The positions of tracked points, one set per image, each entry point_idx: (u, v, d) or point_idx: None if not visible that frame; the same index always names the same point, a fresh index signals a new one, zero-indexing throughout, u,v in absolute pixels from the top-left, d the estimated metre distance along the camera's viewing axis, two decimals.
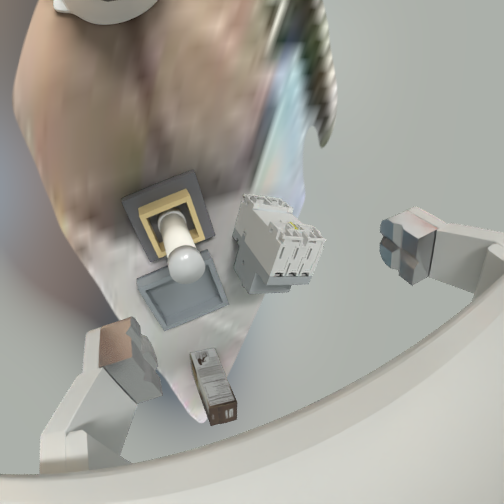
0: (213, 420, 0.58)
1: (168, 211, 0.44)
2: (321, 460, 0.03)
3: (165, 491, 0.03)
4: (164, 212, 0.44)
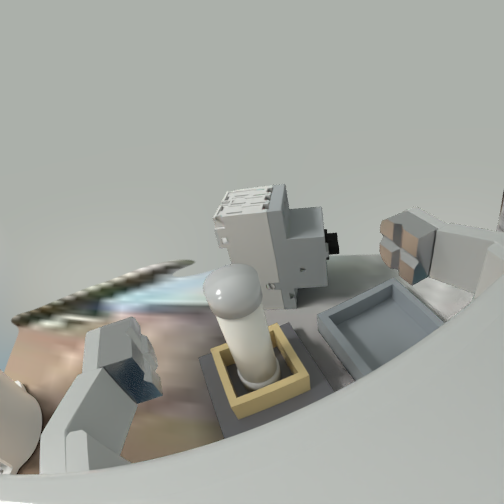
0: None
1: None
2: (321, 460, 0.03)
3: (164, 491, 0.03)
4: (241, 381, 0.30)
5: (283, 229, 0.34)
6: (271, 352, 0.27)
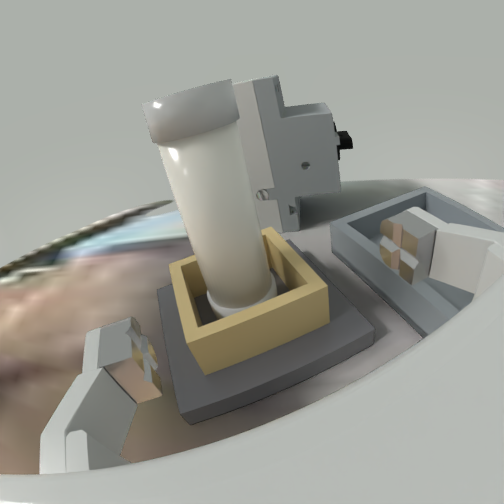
0: None
1: None
2: (321, 460, 0.03)
3: (164, 491, 0.03)
4: (213, 310, 0.19)
5: (276, 104, 0.23)
6: (260, 243, 0.17)
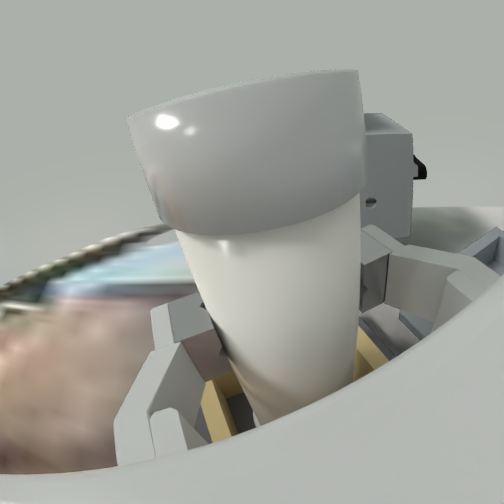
0: None
1: None
2: (321, 460, 0.03)
3: (164, 491, 0.03)
4: None
5: None
6: (353, 373, 0.09)
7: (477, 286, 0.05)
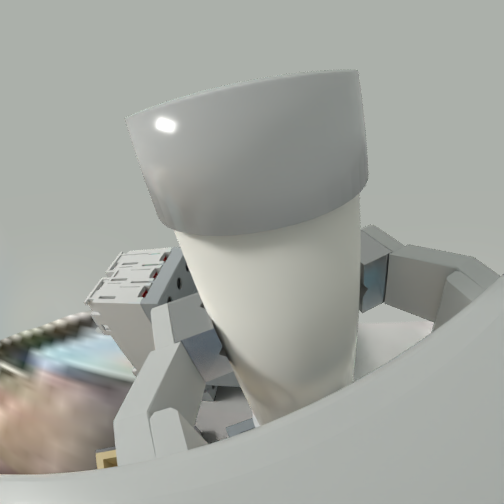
0: None
1: (255, 426, 0.12)
2: (321, 460, 0.03)
3: (164, 491, 0.03)
4: None
5: None
6: (353, 374, 0.09)
7: (477, 286, 0.05)
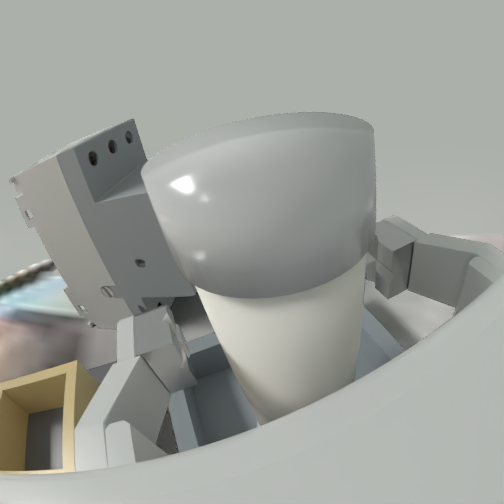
0: None
1: None
2: (321, 460, 0.03)
3: (165, 490, 0.03)
4: None
5: (85, 184, 0.16)
6: None
7: (496, 270, 0.06)
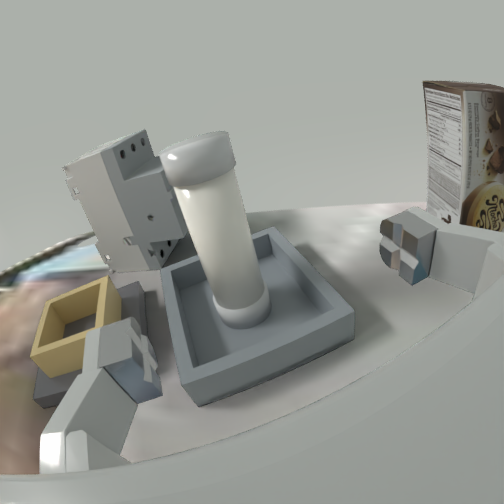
0: None
1: (214, 303, 0.24)
2: (321, 460, 0.03)
3: (165, 490, 0.03)
4: (218, 311, 0.24)
5: (118, 169, 0.27)
6: (253, 259, 0.21)
7: None
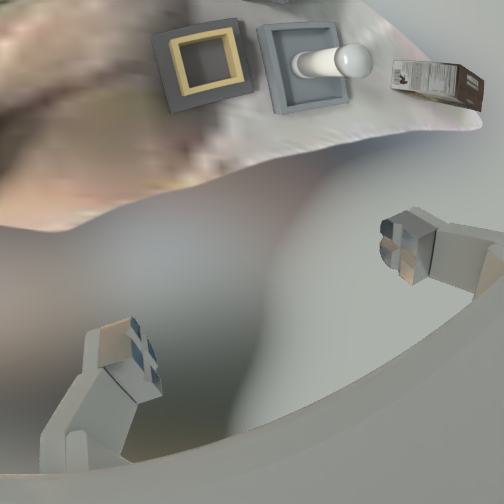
0: (475, 104, 0.35)
1: (294, 65, 0.38)
2: (321, 460, 0.03)
3: (165, 491, 0.03)
4: (294, 69, 0.38)
5: None
6: None
7: None
